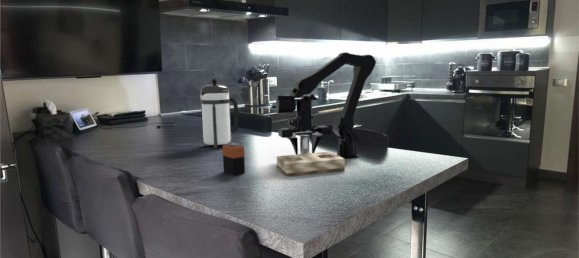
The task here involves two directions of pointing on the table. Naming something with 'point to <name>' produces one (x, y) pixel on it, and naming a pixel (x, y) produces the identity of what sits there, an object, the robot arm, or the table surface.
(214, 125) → the coffee press
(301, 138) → the pin
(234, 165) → the battery
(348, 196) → the table surface
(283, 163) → the bore block
